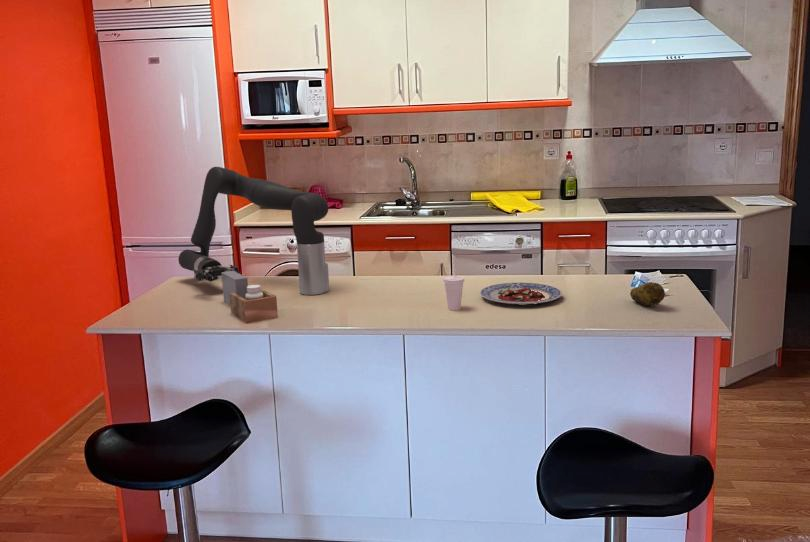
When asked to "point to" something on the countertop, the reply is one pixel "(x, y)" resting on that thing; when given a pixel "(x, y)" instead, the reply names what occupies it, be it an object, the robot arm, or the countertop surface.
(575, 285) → the countertop surface
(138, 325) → the countertop surface
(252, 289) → the supplement bottle
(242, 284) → the grey rectangular box
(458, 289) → the smoothie
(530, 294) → the ceramic plate
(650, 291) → the potato
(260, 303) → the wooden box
